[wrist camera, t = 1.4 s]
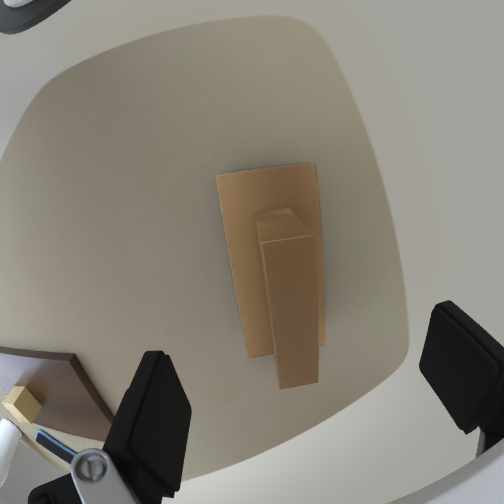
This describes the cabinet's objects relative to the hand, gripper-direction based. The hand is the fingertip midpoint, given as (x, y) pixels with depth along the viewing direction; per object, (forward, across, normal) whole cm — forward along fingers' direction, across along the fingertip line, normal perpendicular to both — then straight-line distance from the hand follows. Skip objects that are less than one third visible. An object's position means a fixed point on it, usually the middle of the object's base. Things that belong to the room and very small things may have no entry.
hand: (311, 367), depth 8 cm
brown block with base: (+10, 0, -1) cm, 10 cm away
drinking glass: (+10, +52, +27) cm, 60 cm away
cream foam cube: (+9, +32, +14) cm, 36 cm away
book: (+10, +29, +13) cm, 34 cm away
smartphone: (+10, +37, +31) cm, 50 cm away
